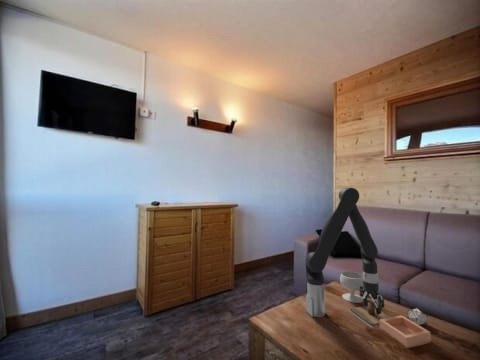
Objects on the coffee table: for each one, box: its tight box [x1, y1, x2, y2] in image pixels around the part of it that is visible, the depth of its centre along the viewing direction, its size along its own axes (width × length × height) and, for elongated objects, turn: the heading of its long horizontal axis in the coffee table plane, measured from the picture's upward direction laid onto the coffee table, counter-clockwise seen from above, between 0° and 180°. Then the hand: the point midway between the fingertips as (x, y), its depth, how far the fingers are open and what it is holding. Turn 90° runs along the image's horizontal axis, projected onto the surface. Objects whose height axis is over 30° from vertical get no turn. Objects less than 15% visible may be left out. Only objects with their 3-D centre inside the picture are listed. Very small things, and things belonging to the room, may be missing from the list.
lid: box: [349, 300, 391, 326], centre depth 123 cm, size 15×15×7 cm
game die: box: [406, 306, 429, 326], centre depth 115 cm, size 9×8×10 cm
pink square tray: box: [379, 315, 432, 349], centre depth 107 cm, size 14×14×4 cm
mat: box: [347, 308, 380, 328], centre depth 123 cm, size 17×17×1 cm
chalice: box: [339, 270, 363, 304], centre depth 142 cm, size 14×14×15 cm
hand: (371, 309), depth 123 cm, fingers open, 8 cm apart
